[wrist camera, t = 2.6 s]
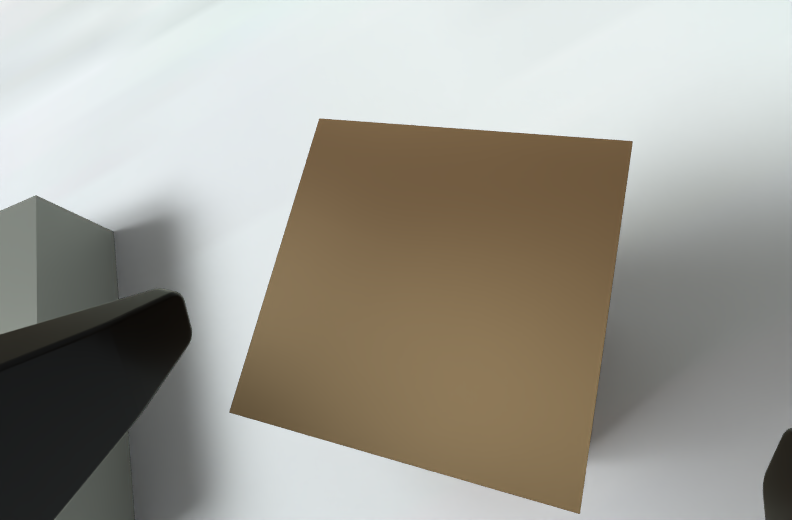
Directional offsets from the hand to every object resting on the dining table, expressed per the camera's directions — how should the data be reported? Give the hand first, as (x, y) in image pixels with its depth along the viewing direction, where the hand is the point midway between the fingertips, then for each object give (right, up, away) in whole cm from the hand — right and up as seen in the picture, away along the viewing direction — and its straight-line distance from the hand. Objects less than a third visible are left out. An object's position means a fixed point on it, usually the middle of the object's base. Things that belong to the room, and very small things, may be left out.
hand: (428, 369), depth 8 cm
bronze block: (+3, -2, +8) cm, 9 cm away
